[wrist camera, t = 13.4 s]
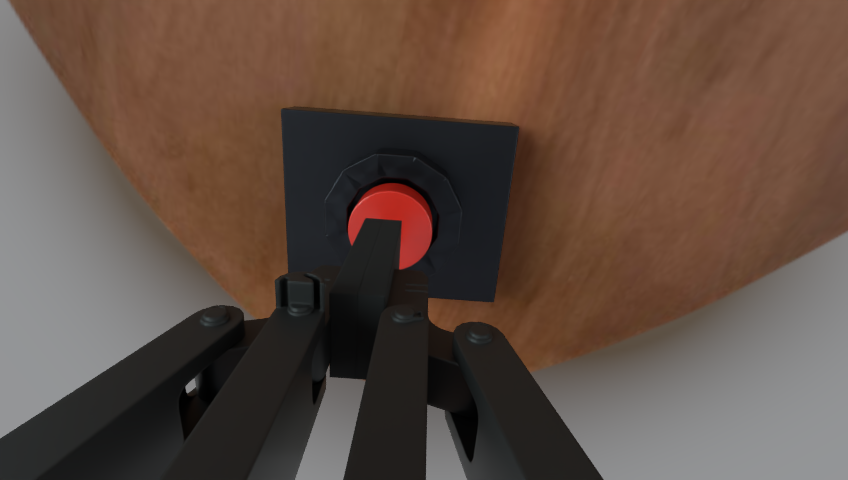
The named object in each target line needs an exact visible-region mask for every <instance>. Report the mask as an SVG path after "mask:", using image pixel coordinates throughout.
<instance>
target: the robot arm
mask: <svg viewBox="0 0 848 480" xmlns="http://www.w3.org/2000/svg"><path fill="white" fill-rule="evenodd" d="M401 228H402V221H401V220H387V219H374V218H365V220H364V222H363V224H362V226H361V228H360V230H359V232H358V234H357V236H356V238H355V241H354V243H353V245H352V247H351V249H350V251H349V253H348V255H347V257H346V259H345V261H344V263H343V265H342V266H330V265H321V266H319V267H318V268H316V269H314V270H313V271H312V272H293V273H287V274H285V275H282V276H280V277H278V278H277V279H276V280H275V291H276V309H275V310H274V312H273V313H272V315H271V316H270V317H269V318H264V319H256V320H247V321H244V313H243V312H242V311H241V310H240V309H239V308H236V307H233V306H225V305H219V306H212V307H209V308H206V309H202V310H200V311H198V312H196V313H194V314H193V315H191V316H190V317H188V318H186V319H185V320H183V321H182V322H181V323H179V324H177V325H176V326H174V327H173V328H171V329H169V330H168V331H166V332H165V333H163V334H162V335H160V336H159V337H157V338H156V339H154V340H152V341H151V342H149V343H148V344H146V345H145V346H143V347H141V348H140V349H138V350H137V351H135V352H134V353H132V354H131V355H129V356H128V357H126V358H125V359H123V360H121V361H120V362H118V363H117V364H115V365H114V366H112V367H110V368H109V369H107V370H106V371H104V372H103V373H101V374H100V375H98V376H97V377H95V378H93V379H92V380H90V381H89V382H87V383H86V384H84V385H83V386H81V387H80V388H78V389H76V390H75V391H74V392H72V393H70V394H69V395H67V396H66V397H64V398H62V399H61V400H59V401H58V402H56V403H55V404H53V405H52V406H50V407H48V408H47V409H45V410H44V411H42V412H41V413H39V414H38V415H36V416H35V417H33V418H31V419H30V420H28V421H27V422H25V423H24V424H22V425H21V426H19V427H17V428H16V429H14V430H13V431H11V432H10V433H9V434H7V435H5V436H4V437H2V438H1V439H0V480H295V477H296V474H297V472H298V468H299V466H300V463H301V460H302V457H303V454H304V451H305V448H306V445H307V442H308V439H309V436H310V433H311V431H312V428H313V425H314V422H315V419H316V416H317V413H318V410H319V407H320V404H321V401H322V398H323V396H324V393H325V389H326V371H327V369H328V366H329V363H330V377H338V378H352V379H366V382H365V386H364V391H363V395H362V400H361V404H360V409H359V413H358V417H357V422H356V426H355V431H354V435H353V440H352V444H351V448H350V453H349V457H348V462H347V466H346V471H345V475H344V479H343V480H426V437H427V436H426V434H427V404H428V405H431V406H434V407H437V408H440V409H443V410H445V418H446V421H447V424H448V427H449V430H450V432H451V435H452V438H453V441H454V444H455V447H456V449H457V452H458V455H459V458H460V461H461V464H462V466H463V469H464V472H465V475H466V478H467V480H603V478H602V477H601V475H600V474H599V472H598V471H597V469H596V468H595V467H594V465H593V464H592V462H591V461H590V459H589V458H588V456H587V455H586V454H585V452H584V451H583V449H582V448H581V446H580V445H579V443H578V442H577V441H576V439H575V438H574V436H573V435H572V433H571V432H570V430H569V429H568V428H567V426H566V425H565V423H564V422H563V420H562V419H561V417H560V416H559V414H558V413H557V412H556V410H555V409H554V407H553V406H552V404H551V403H550V401H549V400H548V399H547V397H546V396H545V394H544V393H543V391H542V390H541V389H540V387H539V385H538V384H537V383H536V381H535V380H534V378H533V377H532V375H531V374H530V372H529V371H528V370H527V368H526V367H525V365H524V364H523V362H522V361H521V359H520V358H519V357H518V355H517V354H516V352H515V351H514V349H513V348H512V346H511V345H510V343H509V342H508V341H507V339H506V338H505V336H504V335H503V334H502V333H501V332H500V331H499V330H498V329H497V328H495V327H493V326H491V325H489V324H486V323H482V322H468V323H463V324H461V325H459V326H457V327H456V329H455V330H454V333H453V332H449V331H446V330H443V329H440V328H439V327H437V326H435V325H434V324H433V323H431V321H430V320H429V317H428V277H427V276H426V275H425V273H424V272H423V271H414V270H400V269H399V264H400V246H401ZM194 378H195V382H196V388H195V389H193V390H192V391H191V392H189V393H186V389H185V386H186V385H187V384H188V383H189V382H190V381H191V380H192V379H194Z"/></svg>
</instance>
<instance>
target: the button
mask: <svg viewBox="0 0 848 480" xmlns="http://www.w3.org/2000/svg"><path fill="white" fill-rule="evenodd" d="M365 218H374V219H387V220H401V221H402V228H401V246H400V264H399V269H404V268H407V267H410V266H412V265H413V264H415V263H416V262H418V261H419V260H420V259H421V258H422V257H423V256H424V255H425V253H426V252H427V250H428V248H429V246H430V243H431V239H432V214H431V210H430V208H429V205H428V204H427V202H426V200H425V199H424V198H423V196H421V195H420V194H419V193H418V192H417V191H416V190H414V189H412V188H411V187H408V186H406V185H403V184H398V183H385V184H381V185H378V186H375V187H373V188H372V189H370V190H369V191H367V192H366V193H365V194H364V195H363V196H362V197H361V199H360V200H359V202H358V203H357V205H356V206H355V208H354V210H353V211H352V213H351V216H350V218H349V223H348V235H349V240H350V243H351V245H353V243H354V241H355V238H356V236H357V234H358V232H359V230H360V228H361V226H362V224H363V222H364V220H365Z"/></svg>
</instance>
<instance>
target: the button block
mask: <svg viewBox="0 0 848 480" xmlns="http://www.w3.org/2000/svg"><path fill="white" fill-rule="evenodd" d="M281 119H282V142H283V164H284V186H285V209H286V231H287V253H288V273H293V272H312V271H313V270H314V269H316V268H318V267H319V266H321V265H330V266H342V265H343V263H344V261H345V259H346V257H347V255H348V253H349V251H350V249H351V247H352V245H351V243H350V240H349V235H348V223H349V218H350V216H351V213H352V211H353V210H354V208H355V206H356V205H357V203H358V202H359V200H360V199H361V197H362V196H363V195H364V194H365V193H366V192H367V191H369V190H370V189H372V188H373V187H375V186H378V185H381V184H385V183H398V184H403V185H406V186H408V187H411V188H412V189H414V190H416V191H417V192H418V193H419V194H420V195H421V196H423V198H424V199H425V200H426V202H427V204H428V205H429V208H430V210H431V214H432V239H431V243H430V246H429V248H428V250H427V252H426V253H425V255H424V256H423V257H422V258H421V259H420V260H419V261H418V262H416V263H415V264H413V265H412V266H410V267H407V268H404V269H400V270H414V271H423V272H424V273H425V275H426V276H427V277H428V298H441V299H455V300H469V301H482V302H494V298H495V291H496V284H497V277H498V270H499V263H500V257H501V250H502V243H503V236H504V229H505V222H506V215H507V208H508V202H509V195H510V188H511V181H512V174H513V167H514V160H515V153H516V147H517V140H518V133H519V127H518V126H516V125H514V124H512V123H506V122H493V121H480V120H467V119H454V118H440V117H427V116H414V115H401V114H387V113H374V112H361V111H348V110H335V109H321V108H308V107H289V108H283V109H281Z"/></svg>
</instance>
